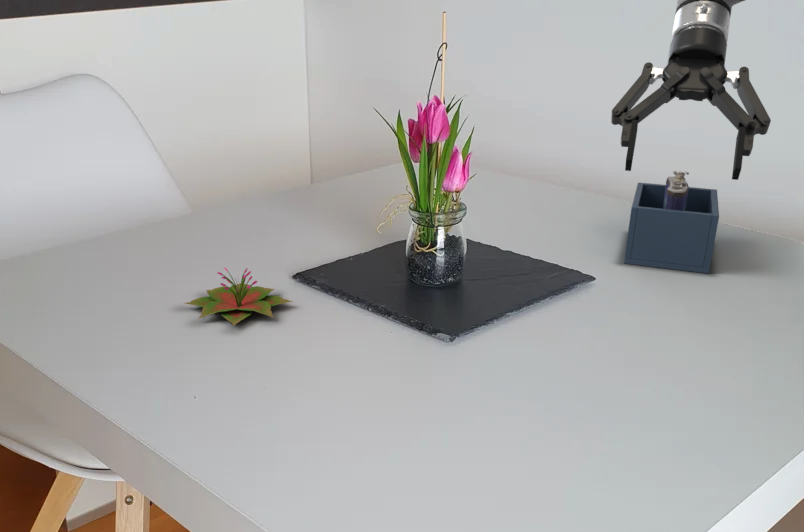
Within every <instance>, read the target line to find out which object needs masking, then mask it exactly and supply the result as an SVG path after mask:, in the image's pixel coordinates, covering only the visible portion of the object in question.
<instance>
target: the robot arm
mask: <svg viewBox="0 0 804 532" xmlns="http://www.w3.org/2000/svg"><path fill="white" fill-rule="evenodd" d="M676 1H677V2H676V9H675V12H674V18H673V25H672V32H671V39H670V45H669V50H668V51H669V52H668V58H667V63H666V66H665V67H664V68H661V67H654V65H653V63H652V62H650V61H649V62H645V63H644V65H643V68H642V70H641V74H640V76H639V77H637V79H636V80H635V81H634V82H633V84H632V85H631V86H630V87H629V89H628V90H627V91H626V93H624V95H623V96H622V97H621V98H620V99H619V101H618V102H617V103H616V104H615V106H614V107H613V108H612V109H611V116H610V117H611V118H610V119H611V120H610V123H611V125H613V126H616V125H617V126H620V127H622V130H621V135H620V145H621V148H627V151H626V157H625V169H624V171H626V172H632V167H633V159H634V154H635V148H636V141H637V135H638V127H639V126H638V125H639V124H640V123H641V122H642V121H644V120H645V119H646V118H647V117H649V116H650V115H651V114H653V113H654V112H655V111H657V110H658V109H659V108H660V107H662V106H663V105H665V104H668V103H669V102H671V101H673V100H674V99H675V98H677V99H678V101H690V100H691V101H695V102H703V101H704V100H707V101H708V102H709V103H710V104H711V106H713V107H716V108H717V110H719V112H721V113H722V115H723V116H724V117H725V118H726V119H727V120H728V122H730V123H731V124H732V126H733V127H734V128H735V129H736V130H737V131H738V132H737V134H736V139H735V148H734V156H733V157H734V158H733V165H732V166H733V167H732V174H731V180H736V181H738V180H739V178H740V175H741V171H742V166H743V159H744V158H743V157H750V156H751V154H752V151H753V148H754V139H755V136H756V135H761V136H765V135H766V134H767V133H768V130H769V128H770V124H771V122H772V120H771V118H770V116H769V113H768V111H767V110H766V109H765V106H764V104H763V103H762V101H761V99H760V97H759V95H758V93H757V92H756V90H755V87H754V86H753V84H752V82H751V80H750V69H749V68H748V67H747V66H741V67H740V68H739V69H738V70H736V71H733V70H732V71H727V69H726V66H725V65H726V56H727V47H728V39H729V32H730V22H731V15H732V9H733V6H734V5H737V4H740V3H742V2H745V1H746V0H676ZM659 79H661V80H662V82H663V83H661V85H660V86H659V87H658V88H657V89H656V90H655V91H653V92H652V93H651V94H650V95H648V96H647V97H646V98H644V99H643V100H642V101H640V102H639V100H640V99H641V98H642V96H643V95H644V94H645V93H646V92H647V90H648V89H649V87H650V86H651V85H654V83H656V82H657V80H659ZM726 82H727V83H730V85H731V87H732V89H734V90H736V92H737V93H736V94H737V95H738V97H739V99H740V101H741V104H742V106H743V107H744V108H743V107H742V106H741V105H740V104H739V103H738V101H736V100H735V99H734V98H733V97H732V95H730V93H728V91H727V90H726V87H725V84H726ZM638 102H639V103H638ZM637 103H638V104H637ZM744 109H745V110H744Z"/></svg>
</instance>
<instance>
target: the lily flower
mask: <svg viewBox="0 0 804 532" xmlns="http://www.w3.org/2000/svg"><path fill="white" fill-rule="evenodd" d="M223 269H224V270H225V271H226V272H227V273H228V274H229V276H230V278H231V279H230V278H229V277H227V276H226V275H224V274H223V273H222V272H219V271H217V274H218V275H220V276H221V279H223V280H226V281H227V282H228V283H229V284H230V286H228V285H227V284H225V283H223V282H221V283H220V286H219V287H215V288H212V289H206V290H205V291H206V293H207V295H208V296H200V297H197V298H195V299H192V300H191V301H189V302H188V301H187V302H184V303H183V304H184V305H190V306H195V307H199V308H200V307H201V308H202V309H201V312H200V313H201V315H199V317H198V320H199V319H201V318H204V317H208V316H209V315H214V314H217V313H220V315H221V317H223V318H224V319H225V320H227V321H228V322H229V323H231V324H232V326H236V325H237V324H238V323H240V322H241V321H243V320H245V319H246V318H247V317H249V316H251V315H252V314H253V312H256V313H259V314H262V315H265V316H268V317H270V318H274V316H273V313H272V307H274V306H278V305H282V304H287V303H292V302H293V300H289V299H287V298H283V296H279V295H270V294H271V293H272V292H273V291H274V290H276V288H270V287H264V286H258V285H257V286H254V285H255V284H257V283H258V280H254V281H253V282H252V283H251V284H248V283H249V282H250V281H251V280H252V278H253V276H252V275H250V274H251V273H252V271H248V270H249V268H248V267H246V268H245V270H244V271H243V274H242V275H241V281H240V282H238V280H237V278H233V277H232V276H233V275H232V274H231V273H230V272H229V270H228V268H226V267H224V268H223ZM247 271H248V272H247ZM249 275H250V277H249V278H248V280H247V282H246V279H247V277H248V276H249ZM245 282H246V283H245Z"/></svg>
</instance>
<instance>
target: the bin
mask: <svg viewBox="0 0 804 532" xmlns="http://www.w3.org/2000/svg"><path fill="white" fill-rule="evenodd" d="M665 187H666V184H660V183H648V182H637V184H636V188H635V193H634V196H633V200H632V204H631V209H630V215H629V222H628V223H629V224H628V231H627V238H626V245H625V250H624V258H623V264H626V265H635V266H642V267H652V268H658V269H659V268H660V269H667V270H668V269H669V270H675V271H684V272H692V273H699V274H709V273H710V268H711V264H712V259H713V253H714V247H715V242H716V236H717V232H718V231H717V230H718V225H719V219H720V211H719V198H718V189H715V188H705V187H693V186H689V190H688V196H687V201H686V208H685V211H680V210H670V209H663V203H664V196H665Z"/></svg>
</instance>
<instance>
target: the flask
mask: <svg viewBox="0 0 804 532" xmlns="http://www.w3.org/2000/svg"><path fill="white" fill-rule="evenodd" d="M672 174H673V175H674V176H668V177H666V180H665V185H666V187H665V196H664V203H663V209H670V210H680V211H685V208H686V201H687V196H688V190H689V187H690V186H689V183H688V181H686V177H685V176H686V175H688V176H689V175H690V172H688V171H682V170H680V171H677V170H672Z"/></svg>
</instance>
